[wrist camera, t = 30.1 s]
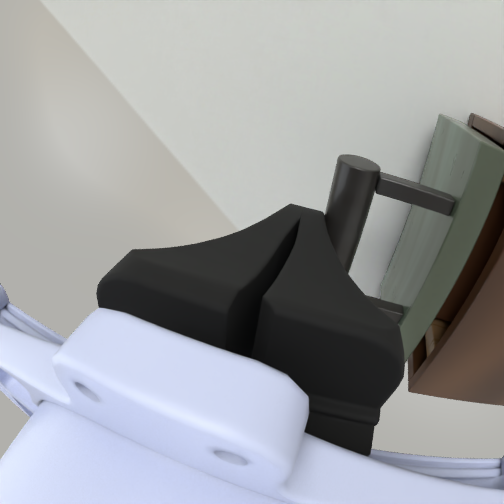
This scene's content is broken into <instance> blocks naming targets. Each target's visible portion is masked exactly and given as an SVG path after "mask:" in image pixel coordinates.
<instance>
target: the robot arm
mask: <svg viewBox="0 0 504 504" xmlns="http://www.w3.org/2000/svg"><path fill="white" fill-rule="evenodd" d="M96 294H97V300H98V306H99V308H98V309H97V310H95V311H94V312H92V313H91V314H90V315H88V316H87V317H86V319H85V320H84V321H83V322H82V323H81V324H80V325H79V327H77V329H76V330H75V331H74V332H73V333H72V334H71V335H70V337H69V338H68V339H66V338H65V337H63V336H61V335H60V334H58V333H56V332H55V331H52V330H51V329H50V328H48V327H46V326H45V325H43V324H42V323H40V322H38V321H37V320H35V319H34V318H32V317H31V316H29V315H28V314H26V313H25V312H23V311H22V310H20V309H19V308H17V307H16V306H14V305H13V304H11V303H10V302H9V299H8V296H7V294H6V291H5V290H4V288H3V287H2V285H1V284H0V390H1V391H2V392H3V393H4V394H5V395H6V396H7V397H8V398H9V399H10V400H11V401H12V402H13V403H14V404H16V405H17V406H18V407H19V408H20V409H21V410H22V411H23V412H25V413H26V414H27V415H28V416H29V417H30V419H29V420H28V421H27V423H26V424H25V426H24V427H23V428H22V430H21V431H20V433H19V434H18V435H17V437H16V438H15V439H14V441H13V442H12V444H11V445H10V447H9V448H8V449H7V451H6V452H5V454H4V455H3V457H2V458H1V460H0V504H504V456H503V457H502V458H494V459H475V458H449V457H434V456H422V455H413V454H404V453H395V452H388V451H381V450H375V449H371V448H372V440H373V433H374V426H375V425H377V424H378V422H379V417H380V408H381V407H382V406H383V404H384V403H385V402H386V401H387V399H388V398H389V397H390V396H391V395H392V394H393V392H394V391H395V390H396V389H397V387H398V386H399V384H400V382H401V381H402V379H403V377H404V367H405V357H404V348H403V341H402V336H401V331H400V326H399V325H398V324H397V323H396V322H394V321H393V320H392V319H391V318H390V317H388V316H387V315H386V314H385V313H383V312H382V311H381V310H380V309H379V308H378V307H376V306H375V305H374V304H373V303H372V302H371V301H370V300H369V299H368V298H367V297H366V296H365V294H364V293H363V292H362V291H361V290H360V289H359V288H358V286H357V285H356V284H355V283H354V281H353V280H352V279H351V278H350V276H349V275H348V273H347V272H346V270H345V269H344V267H343V266H342V264H341V262H340V260H339V258H338V256H337V254H336V252H335V250H334V247H333V245H332V242H331V240H330V237H329V234H328V231H327V227H326V223H325V215H324V213H323V212H321V211H318V210H314V209H310V208H306V207H302V206H298V205H294V204H289V205H287V206H286V207H284V208H282V209H281V210H279V211H277V212H276V213H274V214H273V215H271V216H269V217H267V218H266V219H264V220H262V221H260V222H258V223H256V224H254V225H252V226H250V227H248V228H246V229H243V230H241V231H238V232H236V233H233V234H230V235H227V236H224V237H221V238H217V239H213V240H209V241H205V242H201V243H197V244H191V245H185V246H178V247H171V248H159V249H134V250H131V251H130V252H129V253H128V254H127V255H126V256H125V257H124V258H123V259H122V260H121V261H120V262H119V263H117V264H116V265H115V266H114V267H113V268H112V269H111V270H110V271H109V272H108V273H107V274H106V275H105V276H104V277H103V278H102V280H101V281H100V282H99V284H98V288H97V293H96Z"/></svg>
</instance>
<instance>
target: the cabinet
mask: <svg viewBox="0 0 504 504" xmlns="http://www.w3.org/2000/svg"><path fill="white" fill-rule="evenodd" d="M468 126H469V127H470V128H472V129H474V130H475V131H477V132H478V133H480V134H481V135H483V136H484V137H486V138H488V139H489V140H490V141H492V142H493V143H495V144H496V145H498V146H499V147H501V148H502V149H503V150H504V127H502V126H500V125H498V124H496V123H493V122H491V121H489V120H487V119H485V118H483V117H480V116H478V115H476V114H474V113H471V115H470V119H469V123H468ZM408 381H409V382H408V391H409V392H412V393H418V394H423V395H429V396H435V397H441V398H447V399H454V400H462V401H468V402H476V403H484V404H493V405H502V406H504V229H503V231H502V234H501V236H500V238H499V240H498V242H497V244H496V246H495V248H494V250H493V252H492V254H491V256H490V258H489V260H488V262H487V264H486V266H485V268H484V269H483V271H482V273H481V275H480V277H479V279H478V280H477V282H476V284H475V286H474V287H473V289H472V291H471V292H470V294H469V296H468V298H467V299H466V301H465V302H464V304H463V306H462V307H461V309H460V311H459V312H458V314H457V315H456V317H455V318H454V320H453V321H452V323H451V325H450V326H449V328H448V329H447V331H446V332H445V333H444V335H443V336H442V338H441V339H440V341H439V342H438V344H437V345H436V346H435V348H434V349H433V351H432V352H431V353H430V355H429V356H428V357H427V350H426V339H425V335H424V336H423V338H422V339H421V341H420V342H419V344H418V345H417V347H416V348H415V350H414V351H413V352H412V354H411V355H410V357H409V358H408Z"/></svg>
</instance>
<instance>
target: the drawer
mask: <svg viewBox="0 0 504 504" xmlns="http://www.w3.org/2000/svg"><path fill="white" fill-rule="evenodd" d="M380 170H381V169H380V167H379V166H378V165H377V164H376V163H374V162H373V161H371V160H368V159H366V158H363V157H360V156H355V155H340V156H339V157H338V160H337V164H336V169H335V173H334V178H333V182H332V187H331V191H330V195H329V199H328V204H327V208H326V212H325V223H326V227H327V231H328V234H329V237H330V240H331V242H332V245H333V247H334V250H335V252H336V254H337V256H338V258H339V260H340V262H341V264H342V266H343V267H344V269H345V270H346V272H347V273H349V270H350V267H351V264H352V262H353V259H354V256H355V253H356V250H357V247H358V244H359V241H360V238H361V234H362V231H363V228H364V225H365V222H366V219H367V215H368V212H369V209H370V205H371V202H372V199H373V195H374V192H375V191H376V193H377V194H380V195H383V196H387V197H390V198H393V199H397V200H400V201H403V202H406V203H410V204H413V205H412V208H411V210H410V213H409V216H408V219H407V222H406V224H405V227H404V230H403V232H402V235H401V238H400V240H399V243H398V245H397V248H396V250H395V253H394V255H393V258H392V260H391V263H390V265H389V268H388V270H387V272H386V275H385V277H384V279H383V282H382V284H381V299H377V298H374V297H370V296H366V295H365V296H366V297H367V298H368V299H369V300H370V301H371V302H372V303H373V304H374V305H375V306H376V307H378V308H379V309H380V310H381V311H382V312H383V313H385V314H386V315H387V316H388V317H390V318H391V319H392V320H393V321H394V322H396V323H397V324H398V325H399V326H400V331H401V336H402V341H403V348H404V357H405V362H406V361H407V360H408V358H409V357H410V355H411V354H412V352H413V351H414V350H415V348H416V347H417V345H418V344H419V342H420V341H421V339H422V338H423V336H424V335H425V339H426V350H427V357H428V356H429V355H430V353H431V352H432V351H433V349H434V348H435V346H436V345H437V344H438V342H439V341H440V339H441V338H442V336H443V335H444V333H445V332H446V331H447V329H448V328H449V326H450V325H451V323H452V322H450V321H446V320H443V319H439V318H435V317H436V316H437V314H438V312H439V311H440V309H441V307H442V306H443V304H444V302H445V301H446V299H447V297H448V295H449V294H450V292H451V290H452V288H453V286H454V285H455V283H456V281H457V279H458V277H459V275H460V274H461V272H462V270H463V268H464V266H465V264H466V262H467V260H468V258H469V256H470V254H471V252H472V250H473V248H474V246H475V244H476V241H477V239H478V237H479V235H480V233H481V231H482V228H483V226H484V224H485V221H486V219H487V217H488V214H489V212H490V210H491V207H492V205H493V202H494V200H495V197H496V195H497V192H498V189H499V187H500V184H501V181H503V182H504V150H503V149H502V148H501V147H499V146H498V145H496V144H495V143H493V142H492V141H490V140H489V139H488V138H486V137H484V136H483V135H481V134H480V133H478V132H477V131H475V130H474V129H472V128H470V127H469V126H467V125H466V124H464V123H462V122H461V121H458V120H456V119H453V118H450V117H448V116H445V115H443V114H439V117H438V121H437V125H436V129H435V133H434V136H433V140H432V144H431V147H430V151H429V154H428V158H427V161H426V165H425V168H424V171H423V174H422V178H421V181H420V184H418V183H415V182H412V181H409V180H406V179H403V178H399V177H396V176H393V175H390V174H386V173H383V172H380Z"/></svg>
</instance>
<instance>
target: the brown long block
mask: <svg viewBox="0 0 504 504" xmlns="http://www.w3.org/2000/svg"><path fill="white" fill-rule="evenodd" d="M503 229H504V182H503V181H501V184H500V187H499V189H498V192H497V195H496V197H495V200H494V202H493V205H492V207H491V210H490V212H489V214H488V217H487V219H486V221H485V224H484V226H483V228H482V231H481V233H480V235H479V237H478V239H477V241H476V244H475V246H474V248H473V250H472V252H471V254H470V256H469V258H468V260H467V262H466V264H465V266H464V268H463V270H462V272H461V274H460V275H459V277H458V279H457V281H456V283H455V285H454V286H453V288H452V290H451V292H450V294H449V295H448V297H447V299H446V301H445V302H444V304H443V306H442V307H441V309H440V311H439V312H438V314H437V316H436V317H435V318H439V319H443V320H446V321H450V322H452V321H453V320H454V318H455V317H456V315H457V314H458V312H459V311H460V309H461V307H462V306H463V304H464V302H465V301H466V299H467V298H468V296H469V294H470V292H471V291H472V289H473V287H474V286H475V284H476V282H477V280H478V279H479V277H480V275H481V273H482V271H483V269H484V268H485V266H486V264H487V262H488V260H489V258H490V256H491V254H492V252H493V250H494V248H495V246H496V244H497V242H498V240H499V238H500V236H501V234H502V231H503Z"/></svg>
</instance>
